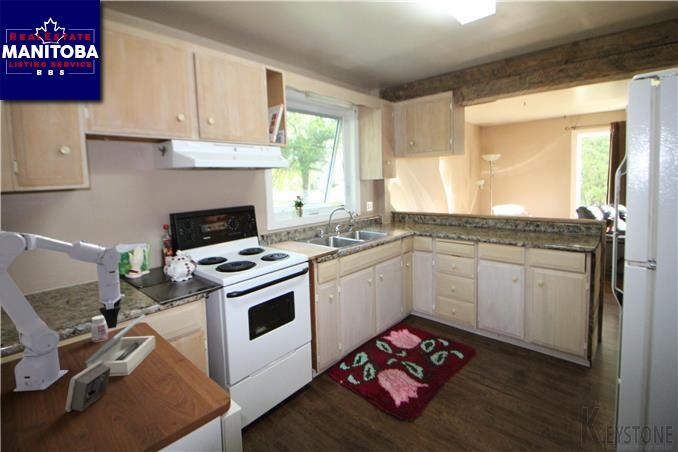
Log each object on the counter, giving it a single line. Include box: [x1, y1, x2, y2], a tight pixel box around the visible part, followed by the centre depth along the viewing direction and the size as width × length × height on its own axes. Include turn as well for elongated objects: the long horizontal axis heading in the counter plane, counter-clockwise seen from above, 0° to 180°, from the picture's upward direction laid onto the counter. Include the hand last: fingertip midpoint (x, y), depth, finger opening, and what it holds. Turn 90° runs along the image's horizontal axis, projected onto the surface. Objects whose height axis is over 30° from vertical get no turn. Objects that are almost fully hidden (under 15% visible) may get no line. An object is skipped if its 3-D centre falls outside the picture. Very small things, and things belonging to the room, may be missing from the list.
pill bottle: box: [90, 314, 109, 343], centre depth 124 cm, size 5×5×8 cm
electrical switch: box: [65, 360, 111, 413], centre depth 87 cm, size 9×5×9 cm, turn 173°
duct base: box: [86, 335, 157, 377], centre depth 108 cm, size 18×11×4 cm, turn 5°
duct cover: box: [84, 314, 146, 365], centre depth 107 cm, size 18×11×1 cm
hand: (112, 323), depth 113 cm, fingers open, 7 cm apart
